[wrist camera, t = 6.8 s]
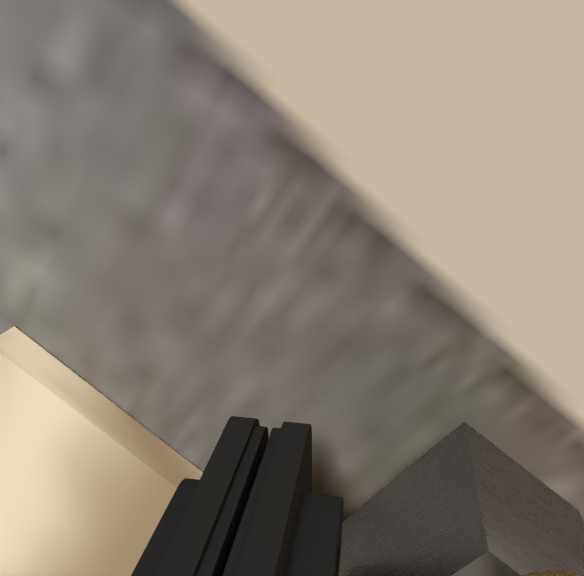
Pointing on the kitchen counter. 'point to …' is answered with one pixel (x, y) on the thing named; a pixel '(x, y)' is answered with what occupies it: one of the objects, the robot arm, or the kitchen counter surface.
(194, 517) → the robot arm
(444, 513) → the latch bar
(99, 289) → the kitchen counter surface
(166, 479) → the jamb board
